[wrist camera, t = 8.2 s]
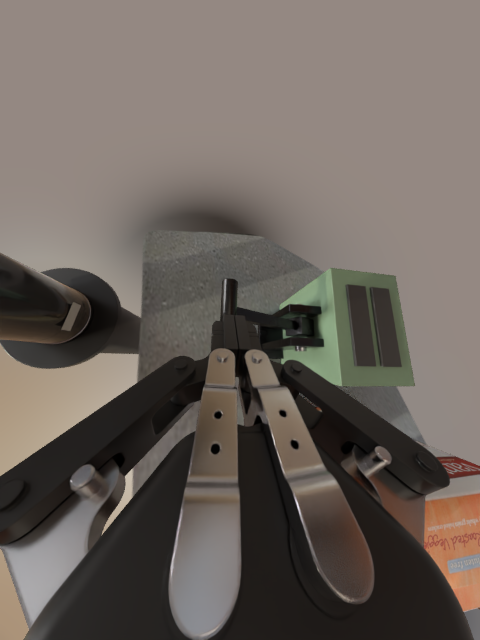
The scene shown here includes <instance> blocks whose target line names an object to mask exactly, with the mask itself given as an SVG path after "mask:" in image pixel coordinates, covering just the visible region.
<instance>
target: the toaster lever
mask: <svg viewBox="0 0 480 640" xmlns="http://www.w3.org/2000/svg"><path fill="white" fill-rule="evenodd" d="M237 288H238V282H237V281H236V280H235V279H224V280H223V281H222V297H221V317H220V321H223V315H224V314H226V315H241V316H245V320H246V323H252V324H254V325H260V326H265V327H271V328H276V329H282V330H286V336H291V337H299V338H301V337H313V336H315V335H314V320H313V319H309V318H306V317H302V316H299V317H294V318H289V319H284V318H280V317H276V316H272V315H268V314H264V313H260V312H255V311H251V310H247V309H243V308H239V307H237Z"/></svg>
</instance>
